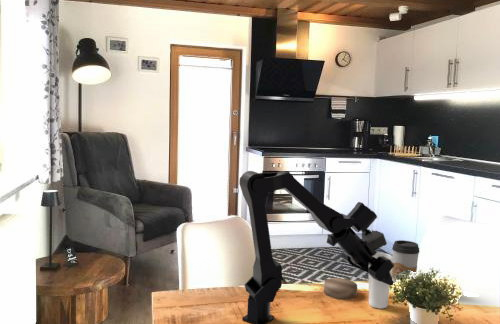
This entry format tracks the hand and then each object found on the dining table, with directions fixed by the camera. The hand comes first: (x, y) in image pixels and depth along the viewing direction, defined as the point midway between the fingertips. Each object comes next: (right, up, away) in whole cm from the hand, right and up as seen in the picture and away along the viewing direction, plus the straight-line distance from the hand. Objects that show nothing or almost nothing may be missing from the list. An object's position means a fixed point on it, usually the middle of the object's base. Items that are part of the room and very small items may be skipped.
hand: (382, 278), depth 132 cm
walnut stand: (-10, -7, +9) cm, 16 cm away
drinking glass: (-1, -8, +1) cm, 8 cm away
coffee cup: (+11, -7, +15) cm, 20 cm away
